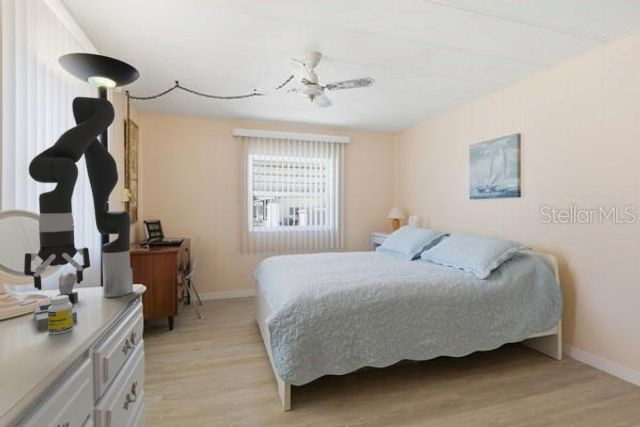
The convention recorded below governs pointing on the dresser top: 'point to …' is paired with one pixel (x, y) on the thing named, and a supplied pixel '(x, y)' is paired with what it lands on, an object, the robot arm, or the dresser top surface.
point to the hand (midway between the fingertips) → (59, 286)
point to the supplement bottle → (60, 315)
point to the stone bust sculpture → (68, 286)
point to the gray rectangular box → (42, 315)
